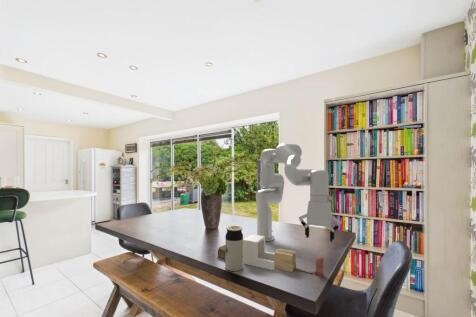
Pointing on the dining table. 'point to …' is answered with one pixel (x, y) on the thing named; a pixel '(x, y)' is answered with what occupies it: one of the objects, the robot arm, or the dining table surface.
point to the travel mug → (234, 248)
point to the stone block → (221, 252)
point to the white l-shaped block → (257, 252)
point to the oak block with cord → (288, 262)
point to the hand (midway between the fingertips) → (319, 238)
